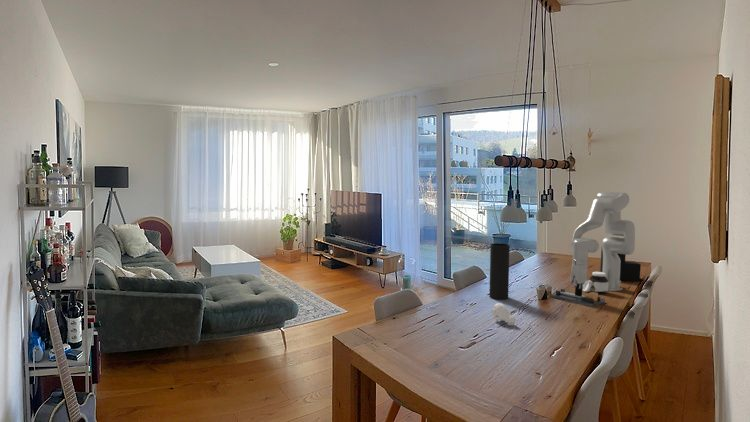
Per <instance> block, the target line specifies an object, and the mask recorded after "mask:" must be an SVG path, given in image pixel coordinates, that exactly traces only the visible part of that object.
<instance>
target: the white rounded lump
mask: <svg viewBox="0 0 750 422" xmlns="http://www.w3.org/2000/svg"><path fill="white" fill-rule="evenodd" d="M491 312H492V316H493V319H494V323H498V321H503V322H504V321H505V322H506V324H507V326H511V327H513V326H514V325H515V323H516V318H515V316H514V315H511V312H510V311H509V309H508V308H507V306H506V305H505V304H504V303H499V302H497V303H495V304H494V305H493V307H492V309H491Z"/></svg>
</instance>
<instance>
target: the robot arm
mask: <svg viewBox="0 0 750 422" xmlns="http://www.w3.org/2000/svg"><path fill="white" fill-rule="evenodd" d="M629 203H630V196H629V194H628V193H626V192H624V191H623V192H620V191H599V192H598V193H597V194H596V198H594V199H593V200H592V203H591V206H590V209H589V211H588V215H587V218H586V220H585V221H584V222H582V223H581V224H580V225H579V226H578V227H577V228H575V230H574V231H573V235H572V238H571V242H570V247H571V249H572V262H571V263H572V264H571V270H570V279H569V281H570V284H572V286H573V287H574V293H575V295H577V296H582V295H583V284H585V282H586V281H587V280H588V262H589V261H588V259H589V253H591V254H592V253H593V254H594V253H597V251H598V250H600V249H599V248H600V243H599V241H597V240H596V239H593V238H585V237H582V236H583V235H584V234H585V233H587V232H589V231H592V230H596V229H598V228H600V227H602V226H603V225H604V231H605V233H606V234H607V235H611V236H606V237H604V238H603V239H602V241H601V250H602V249H603V271H602V272H603V273H605V277H606V278H607V279H608V291H610V292H620V291H623V287H622V286H621V285H620V284H622V281H621V280H620V265H621V260H620V258H619V256H618V254H626V255H632V254H634V251H635V247H636V227H635V223H634V222H633V221H632V220H627V219H622V218H621V216H622V215H621V213H622V212H621V211H622V210H624V209H625V208H626V207H627V206H628V205H629ZM619 236H620V237H619Z"/></svg>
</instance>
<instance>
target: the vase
mask: <svg viewBox="0 0 750 422" xmlns="http://www.w3.org/2000/svg"><path fill="white" fill-rule="evenodd" d="M510 246H511V245H510V244H508V243H500V242H498V243H497V242H495V243H490V248H489V249H490V251H489V253H490V254H489V255H490V256H489V263H490V264H489V265H490V266H489V292H488V293H489V295H488V297H489V298H490V299H493V300H498V301H499V300H501V301H505V300H508V299H509V281H510V279H509V277H510V248H511V247H510Z"/></svg>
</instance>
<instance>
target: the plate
mask: <svg viewBox="0 0 750 422" xmlns="http://www.w3.org/2000/svg"><path fill="white" fill-rule="evenodd" d="M560 291H563V292H568V293H572V292H570V291H566V290H565V289H564V288H561V289H560V290H555V293H552V294H550V295H551V296H550V297H549V298H550V299H551V298H552V299H556V300H561V301H565V302H569V303H574V304H577V305H581V306H586V307H591V308H593V307H597V306H599V305H602V304H605V303H606V299H604V298H601V296H598V300H597V301H594V300H595V299H592V298H587V297H582V298H578V297H573V296H568V295H563V294H560ZM573 293H574V294H575V292H573ZM583 295H584V294H583ZM585 295H586V294H585ZM585 295H584V296H585Z"/></svg>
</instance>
